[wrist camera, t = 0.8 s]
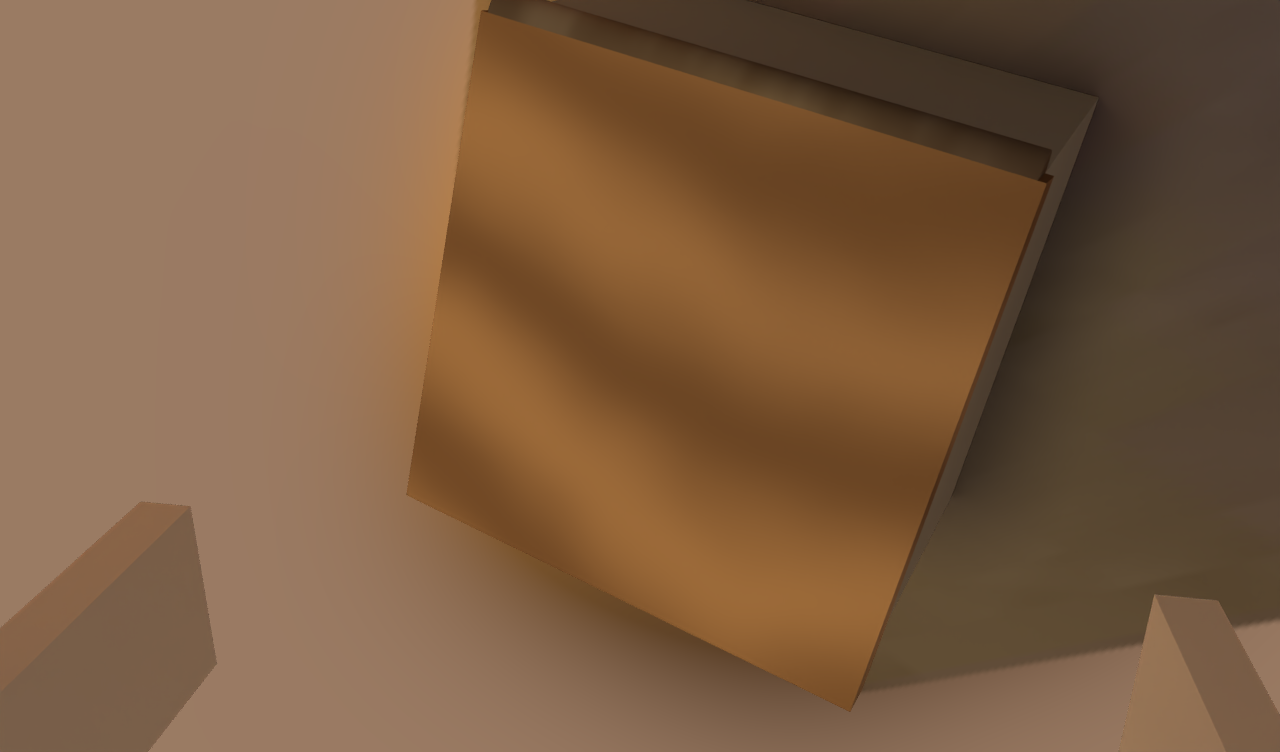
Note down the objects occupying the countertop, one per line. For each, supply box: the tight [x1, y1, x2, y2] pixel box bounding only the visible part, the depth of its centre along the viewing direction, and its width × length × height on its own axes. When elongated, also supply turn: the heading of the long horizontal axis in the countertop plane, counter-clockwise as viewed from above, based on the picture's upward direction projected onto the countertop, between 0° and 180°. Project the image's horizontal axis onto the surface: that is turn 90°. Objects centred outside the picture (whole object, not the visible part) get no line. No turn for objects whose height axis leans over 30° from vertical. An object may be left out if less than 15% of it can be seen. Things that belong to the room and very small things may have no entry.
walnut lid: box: [407, 0, 1054, 712], centre depth 30 cm, size 15×14×1 cm
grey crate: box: [553, 0, 1099, 617], centre depth 34 cm, size 14×14×8 cm
